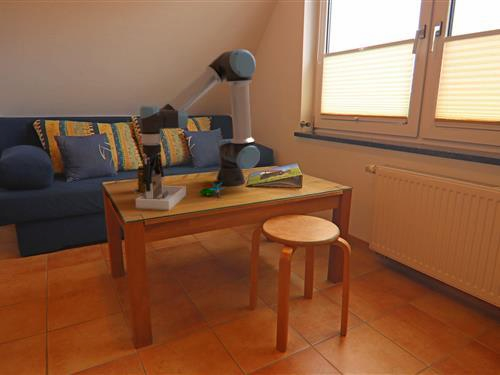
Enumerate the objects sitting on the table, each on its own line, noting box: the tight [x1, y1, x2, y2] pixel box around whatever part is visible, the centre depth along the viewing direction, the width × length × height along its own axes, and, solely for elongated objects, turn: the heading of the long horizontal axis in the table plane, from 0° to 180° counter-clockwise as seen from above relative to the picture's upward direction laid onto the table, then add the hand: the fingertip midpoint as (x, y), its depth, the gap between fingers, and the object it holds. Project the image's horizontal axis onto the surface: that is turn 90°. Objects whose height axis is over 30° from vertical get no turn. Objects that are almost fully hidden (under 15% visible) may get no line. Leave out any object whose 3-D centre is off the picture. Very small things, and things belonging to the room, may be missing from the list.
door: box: [146, 173, 163, 199], centre depth 149 cm, size 4×10×9 cm, turn 173°
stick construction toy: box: [199, 182, 227, 199], centre depth 158 cm, size 12×7×8 cm
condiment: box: [133, 165, 146, 194], centre depth 164 cm, size 7×8×12 cm
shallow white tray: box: [135, 185, 187, 211], centre depth 150 cm, size 14×22×4 cm, turn 173°
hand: (154, 194), depth 150 cm, fingers closed on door, 10 cm apart
